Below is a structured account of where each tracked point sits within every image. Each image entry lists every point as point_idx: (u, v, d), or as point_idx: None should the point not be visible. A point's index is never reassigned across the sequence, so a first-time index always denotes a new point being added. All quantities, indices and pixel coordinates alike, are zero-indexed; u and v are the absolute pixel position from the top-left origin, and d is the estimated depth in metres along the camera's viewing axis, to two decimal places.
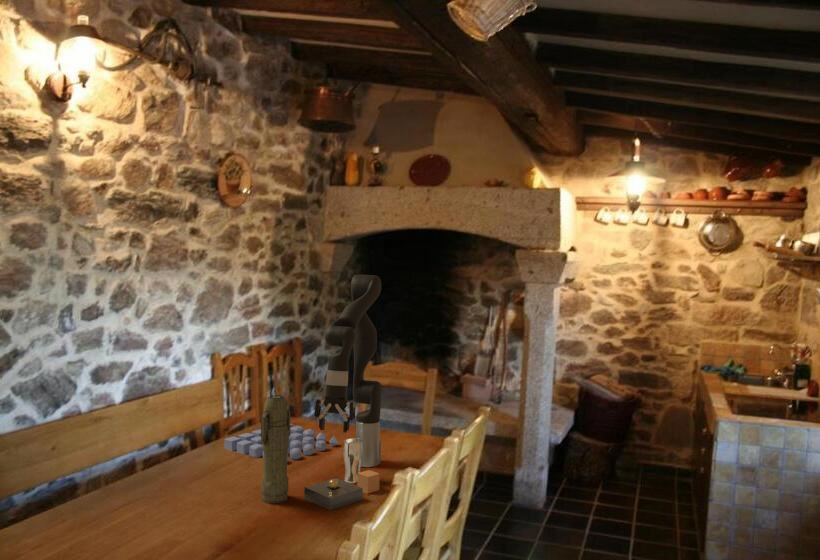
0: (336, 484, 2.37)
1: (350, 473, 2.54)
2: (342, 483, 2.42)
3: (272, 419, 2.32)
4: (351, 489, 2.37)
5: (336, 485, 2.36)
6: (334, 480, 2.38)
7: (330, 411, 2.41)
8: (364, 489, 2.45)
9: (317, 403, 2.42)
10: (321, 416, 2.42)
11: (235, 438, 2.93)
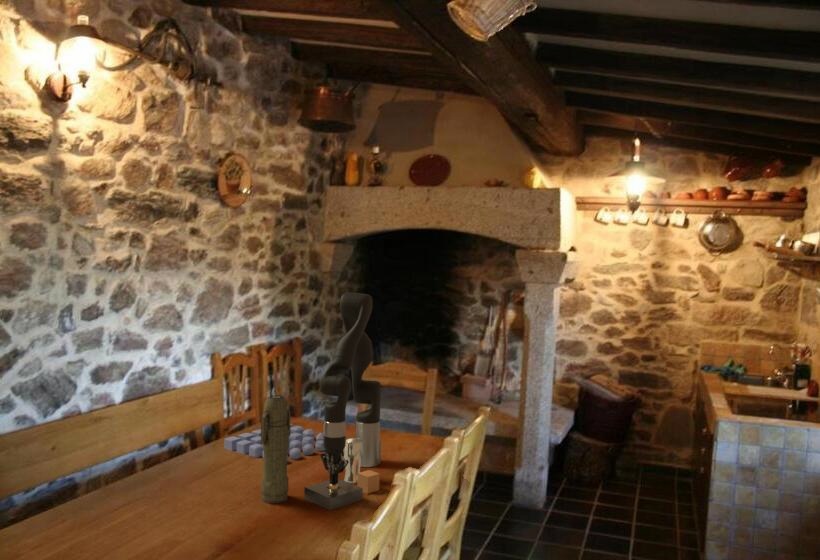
0: (336, 487, 2.37)
1: (350, 473, 2.54)
2: (342, 483, 2.42)
3: (272, 419, 2.32)
4: (351, 489, 2.37)
5: (336, 488, 2.37)
6: None
7: None
8: (364, 489, 2.45)
9: (322, 457, 2.40)
10: (329, 470, 2.37)
11: (235, 438, 2.93)
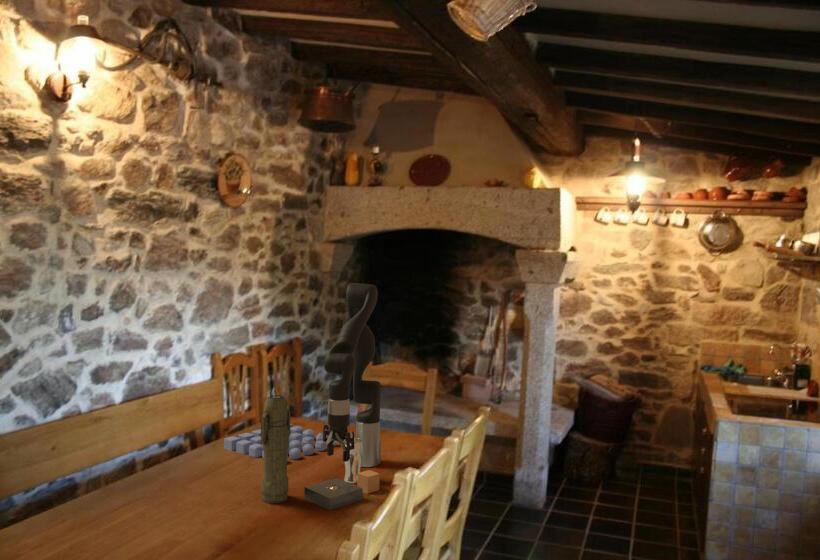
0: None
1: (350, 473, 2.54)
2: (342, 483, 2.42)
3: (272, 419, 2.32)
4: (351, 489, 2.37)
5: None
6: (334, 487, 2.38)
7: (333, 438, 2.39)
8: (364, 489, 2.45)
9: (324, 429, 2.42)
10: (327, 442, 2.41)
11: (235, 438, 2.93)
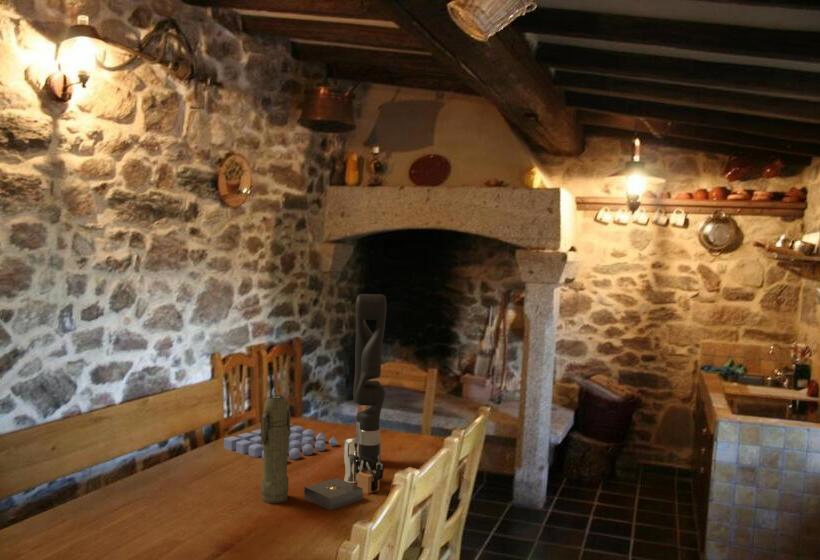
0: None
1: (350, 473, 2.54)
2: (342, 483, 2.42)
3: (272, 419, 2.32)
4: (351, 489, 2.37)
5: None
6: (334, 487, 2.38)
7: (365, 467, 2.47)
8: (364, 489, 2.45)
9: (355, 460, 2.51)
10: None
11: (234, 438, 2.93)
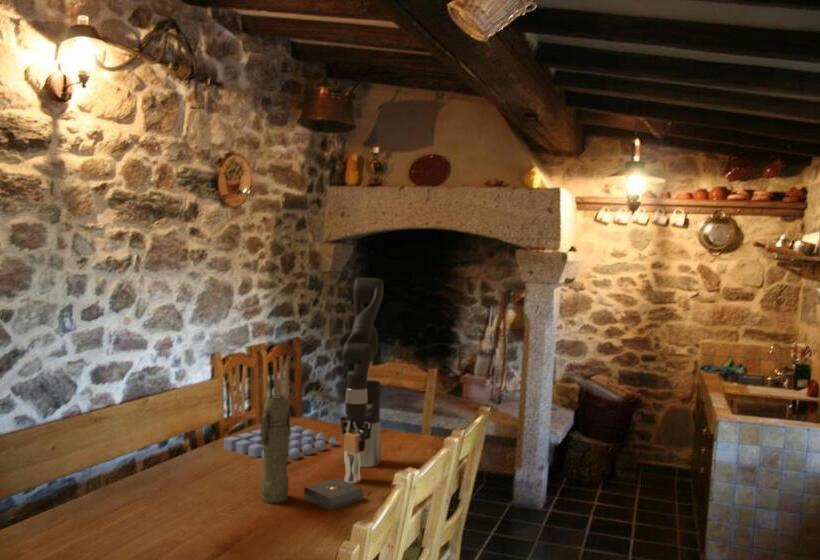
0: None
1: (350, 473, 2.54)
2: (342, 483, 2.42)
3: (272, 419, 2.32)
4: (351, 489, 2.37)
5: None
6: (334, 487, 2.38)
7: (352, 428, 2.42)
8: (351, 449, 2.39)
9: (342, 421, 2.45)
10: None
11: (234, 438, 2.93)
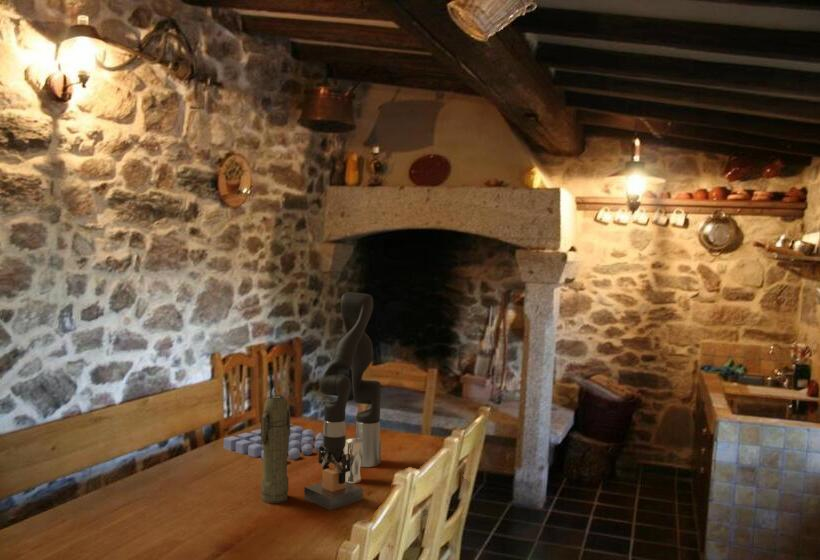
0: None
1: (350, 473, 2.54)
2: None
3: (272, 419, 2.32)
4: (351, 489, 2.37)
5: None
6: None
7: (329, 460, 2.37)
8: (329, 487, 2.35)
9: (320, 450, 2.41)
10: (323, 464, 2.40)
11: (234, 438, 2.93)
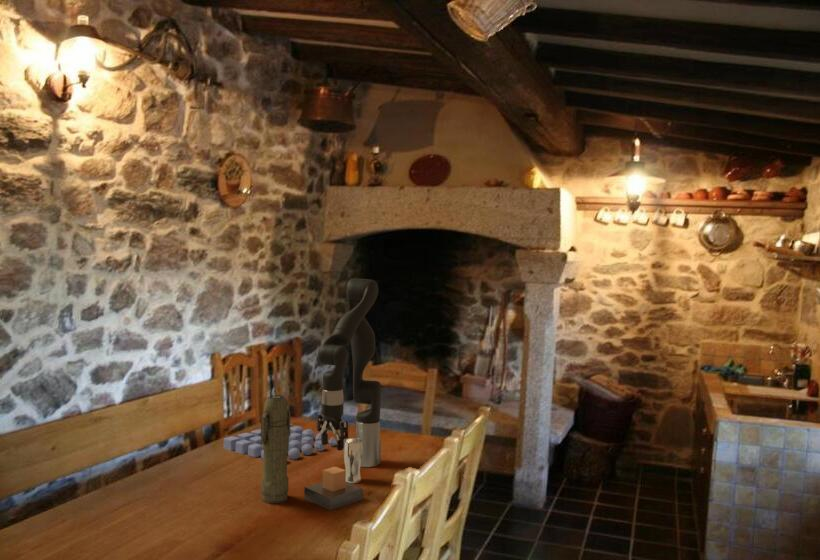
0: None
1: (350, 473, 2.54)
2: None
3: (272, 419, 2.32)
4: (351, 489, 2.37)
5: None
6: None
7: (327, 428, 2.44)
8: (329, 486, 2.35)
9: (318, 418, 2.47)
10: (321, 432, 2.46)
11: (234, 438, 2.93)
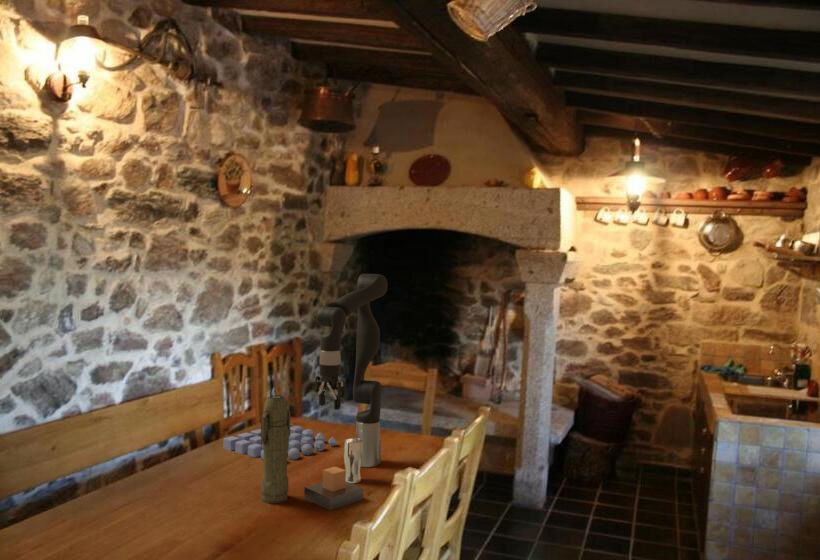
0: None
1: (350, 473, 2.54)
2: None
3: (272, 419, 2.32)
4: (351, 489, 2.37)
5: None
6: None
7: (325, 388, 2.51)
8: (329, 486, 2.35)
9: (316, 380, 2.54)
10: (319, 392, 2.53)
11: (234, 438, 2.93)
